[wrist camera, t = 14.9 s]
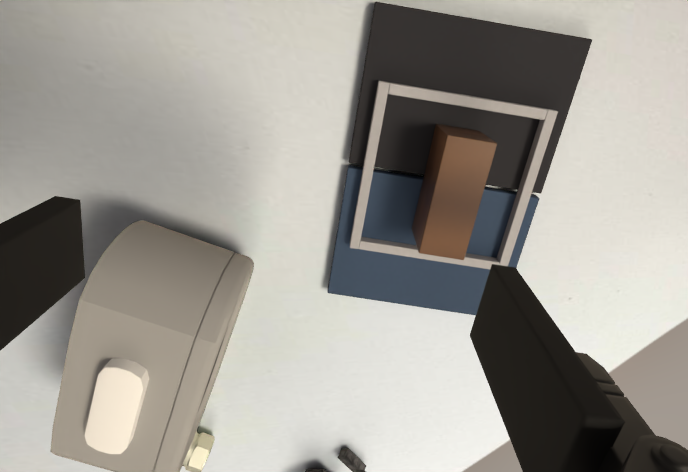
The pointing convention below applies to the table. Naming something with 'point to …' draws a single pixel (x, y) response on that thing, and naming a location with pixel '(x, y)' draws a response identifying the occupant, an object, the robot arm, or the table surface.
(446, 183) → the brown rectangular block
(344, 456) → the building blocks
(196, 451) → the pipe fitting
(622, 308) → the table surface
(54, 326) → the table surface
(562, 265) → the table surface
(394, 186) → the back pads
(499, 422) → the table surface
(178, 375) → the alarm clock
